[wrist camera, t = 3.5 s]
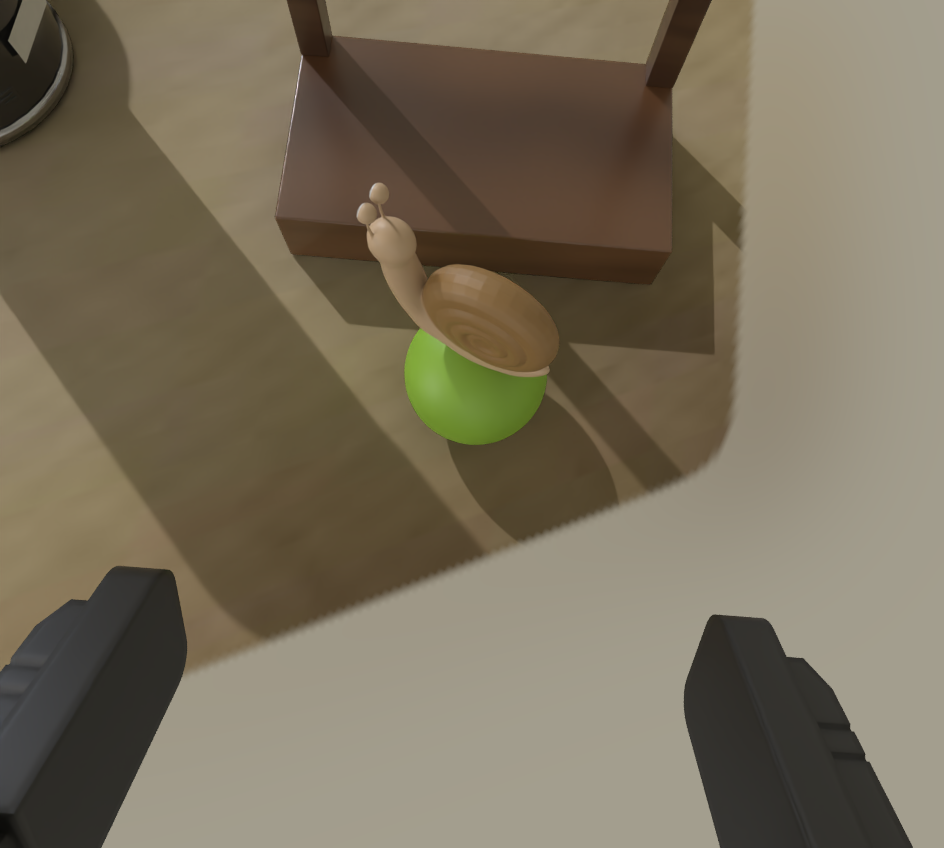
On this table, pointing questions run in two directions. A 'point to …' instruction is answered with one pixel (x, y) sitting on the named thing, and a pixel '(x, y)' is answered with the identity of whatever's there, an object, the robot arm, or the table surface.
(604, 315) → the table surface
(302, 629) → the table surface
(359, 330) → the table surface
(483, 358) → the snail figurine
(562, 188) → the shelf unit
